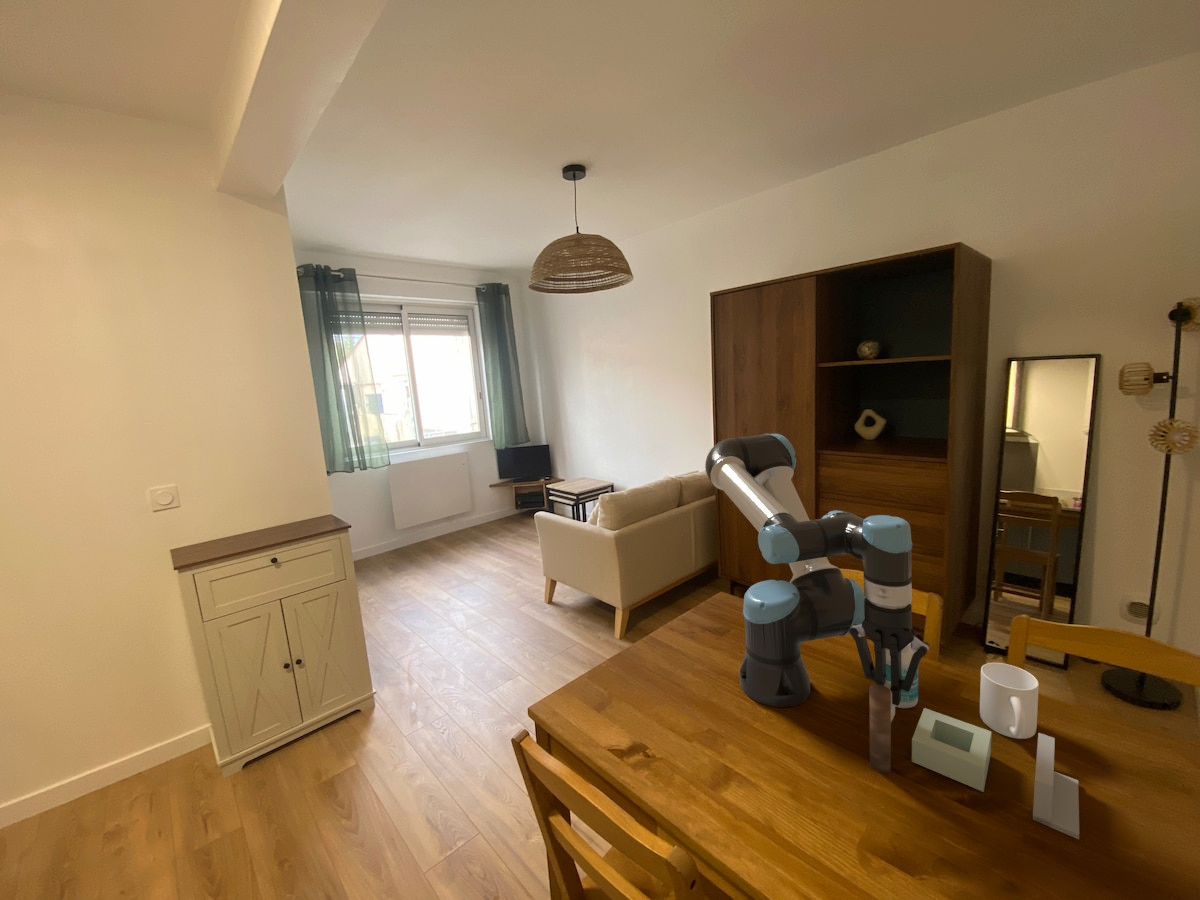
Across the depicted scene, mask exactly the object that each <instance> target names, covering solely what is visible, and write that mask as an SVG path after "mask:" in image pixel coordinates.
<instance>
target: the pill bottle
mask: <svg viewBox="0 0 1200 900" xmlns="http://www.w3.org/2000/svg"><path fill="white" fill-rule="evenodd" d="M913 654H914V652H913V650H912V643H910V644H908V645H907V646H906V647H905V648H904V649H902V651H901V668H902V680H905V677H906V674H907V671H908V668H909V665H910V661H911V658H912V656H913ZM919 669H920V668H919V667H918V670H917V672H916V675H915V678H914V681H913V684H912V686H911V689H910V691H908V692H907V691H904V690H901V701H900V704H899V705H898V706H897V705H895V708H900V709H910V708H911V709H912V708H914V707H915V706H917V704H918V701H919ZM886 675H887V677H886V679H885V681H886V680H887V681H890V682H891V656H890V650H889V649H887V648H886Z"/></svg>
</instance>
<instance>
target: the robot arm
mask: <svg viewBox="0 0 1200 900" xmlns="http://www.w3.org/2000/svg"><path fill="white" fill-rule="evenodd" d="M795 455H796V451H795V449H794V446H793V445H792V442H790V440H789V439H788V438H787V437H785V435H783V434H780V433H762V434H760V435H750V436H742V437H741V436H738V437H731V438H726V439H723V440H721V441H719V442H717V443H716V444H715V445H714V446H713V447H712V448H711V449H710V450H709V452H708V454H707V455H706V459H705V465H704V466H705V467H704V468H705V473H706V476H707V477H708V479H709V481H710V483H711V484H712V485H713V486H714V487H715V488H716V489H718V490H720V491H723V492H724V493H725V494H726V496H728V498H729V499H730V500H731V502H732V503H733V504H734V505H735V506H736V507H737V508H738V509H739V511H740V512H741V513H742V514H743V515H744V517H745V518H746V519H747V520H748V521H749V522H750V524H751V525H752V526H753V527H754V528H755V530H756V531H757V532H758V534H757V535H758V536H757V544H758V547H759V550H760V553H761V556H762V557H763V559H764V560H765V561H766V562H767V563H769V564H771V565H777V564H788V565H789V567H790V570H791V572H792V578H791V579H790V580H789V581H787V580H781V579H780V580H776V579H768V580H761V581H759V582H757V583H754V584H753V585H751V586H749V588H748V589H747V590H746V592H745V593H744V597H743V607H742V608H743V609H742V614H743V619H744V620H743V622H744V623H743V624H744V633H745V634H744V637H745V653H744V656H743V658H742V662H741V665H740V668H739V686H740V687H741V689H742V691H743V692H744V693H745V694H746V695H747V696H748V697H749V698H751V699H752V700H754V701H756V702H758V703H760V704H763V705H766V706H770V707H775V708H788V707H794V706H797V705H800V704H802V703H804V702H806V700H807V699H808V698H809V696H810V694H811V681H810V679H811V678H810V676H809V674H808V671H807V668H806V667H805V664H804V661H803V658H802V656H801V655H802V654H801V643H804V642H810V641H811V642H812V641H815V640H816V641H817V640H822V639H828V638H834V637H838V636H839V637H844V636H847V635H849V634H850V636H851V637H852V639H853V640H854V642H855V645H856V649H857V653H858V656H859V660H860V663H861V666H862V670H863V674H864V676H865V678H866V679H867V680H872V681H873V682H874V684H880V685H883V686H885V687H887V688H888V689H889V690H890V691H891V723H892V722H893V720H894V717H895V715H896V707H895V705H897V706H898V705H899V704H900V701H901V690H904V691H907V692H908V691H910V689H911V686H912V684H913V681H914V678H915V675H916V672H917V670H918V667H919V666H920V663H921V661H922V659H923V658H924V657H925V656H926V655H927V653H928V652H929V649H930V646H931V645H930V643H928V642H927V641H921V640H920V639H919V638H918V637H917V636H916V633H915V630H914V629H913V617H912V615H913V614H912V613H913V610H912V608H913V605H912V602H913V596H912V595H913V594H912V593H913V589H912V588H913V587H912V585H913V583H912V554H913V553H912V549H913V542H912V532H911V530H912V529H911V524H910V523H909V522H908V521H907V520H906V519H904V518H902V517H898V516H891V515H888V514H887V515H886V514H877V515H870V516H867V517H865V518H863V517H860V516H857V515H856V514H853V513H851V512H848V511H842V510H836V509H835V510H830V511H829V512H827V513H826V514H825V515H823V516H822V517H821V518H818V519H817V518H816V519H810V518H809V515H808V513H807V512H806V509H805V507H804V505H803V502H802V501H801V498H800V496H799V494H798V492H797V490H796V487H795V486H794V483H793V481H792V478H793V476H794V473H795V472H794V470H795V469H796V465H797V457H795ZM841 555H842V556H843V555H850V556H852V557H854V558H856V559H858V560H861V561H862V564H863V589H862V587H861V585H860V584H859V583H858V582H856V580H854V579H852V578H848V577H844V575H843V573H842V571H841V569H840V567H837V566H836V565H833V564H831V563H830V561H829V559H828V558H829V557H835V556H841ZM866 635H867V637H869V639H870V640H871V641H872V643H873V651H874V659H873V658H872V654H871V651H870V650H871V649H870V647H869V643H868V640H867V637H866ZM910 643H911V649H912V650H913V652H914V654H913V656H912V658H911V661H910V665H909V668H908V671H907V674H906V677H905V680H902V668H901V651H902V649H904V648H905V647H906V646H907V645H908V644H910ZM886 648H887V649H889V650H890V656H891V682H890V681H887V680H886V681H885V679H886V677H887V675H886ZM873 660H874V661H873Z"/></svg>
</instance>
